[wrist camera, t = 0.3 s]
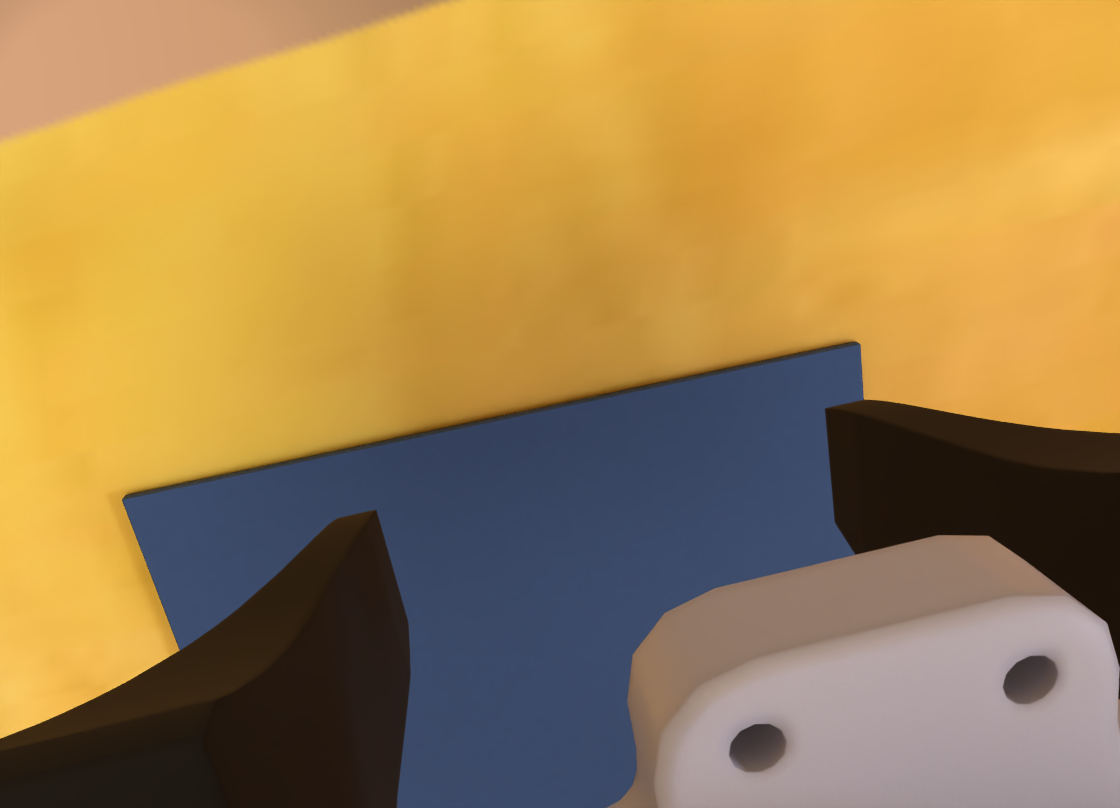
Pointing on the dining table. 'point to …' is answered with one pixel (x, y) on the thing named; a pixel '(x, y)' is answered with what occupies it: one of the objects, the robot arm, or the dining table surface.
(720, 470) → the cloth
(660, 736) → the robot arm
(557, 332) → the dining table surface
